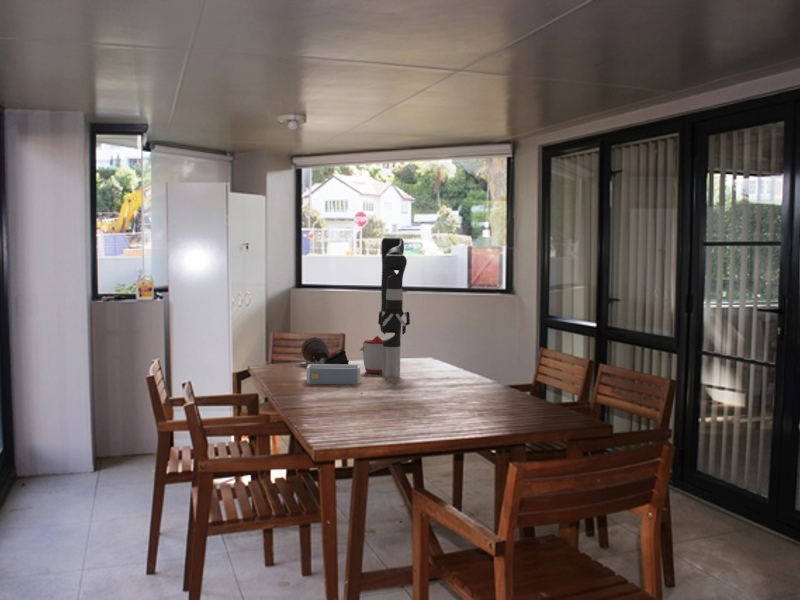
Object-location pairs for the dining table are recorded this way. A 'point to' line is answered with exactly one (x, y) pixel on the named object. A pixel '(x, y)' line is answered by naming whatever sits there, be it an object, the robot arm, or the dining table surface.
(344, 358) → the black ridged battery pack
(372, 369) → the citrus juicer
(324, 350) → the clay pot
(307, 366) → the case
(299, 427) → the dining table surface
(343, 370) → the door
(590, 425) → the dining table surface
